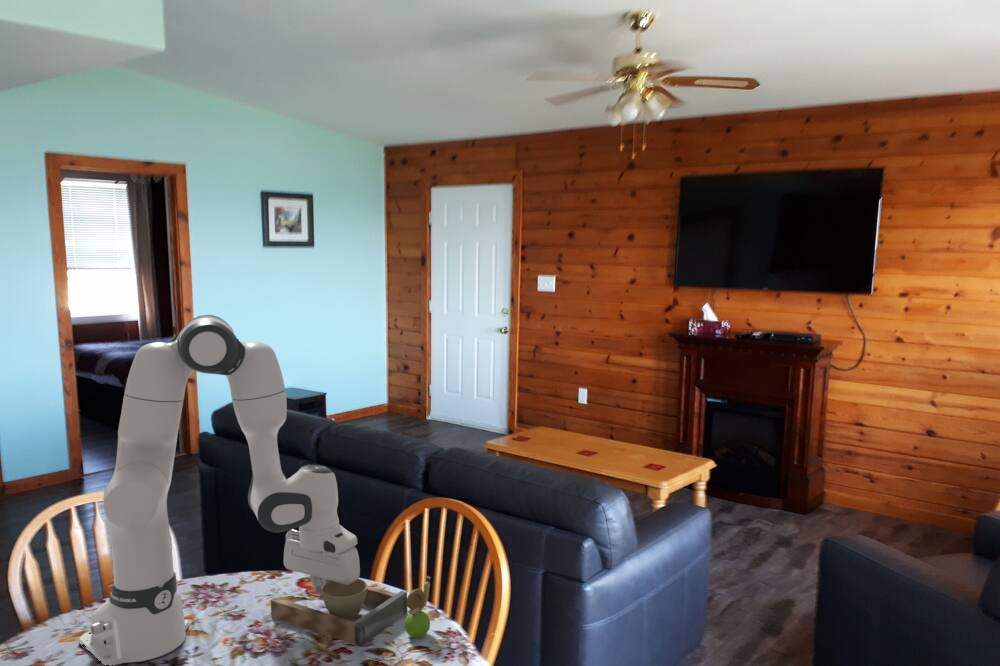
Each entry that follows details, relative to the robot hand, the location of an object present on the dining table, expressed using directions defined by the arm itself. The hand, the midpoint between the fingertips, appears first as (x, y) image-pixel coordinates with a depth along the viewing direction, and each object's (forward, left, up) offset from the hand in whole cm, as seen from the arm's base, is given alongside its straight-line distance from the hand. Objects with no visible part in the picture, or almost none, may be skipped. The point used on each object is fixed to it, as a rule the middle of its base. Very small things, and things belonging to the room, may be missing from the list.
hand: (321, 593), depth 162 cm
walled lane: (+5, 0, -4) cm, 7 cm away
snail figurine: (+26, +1, -4) cm, 27 cm away
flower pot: (+7, 0, -4) cm, 8 cm away
